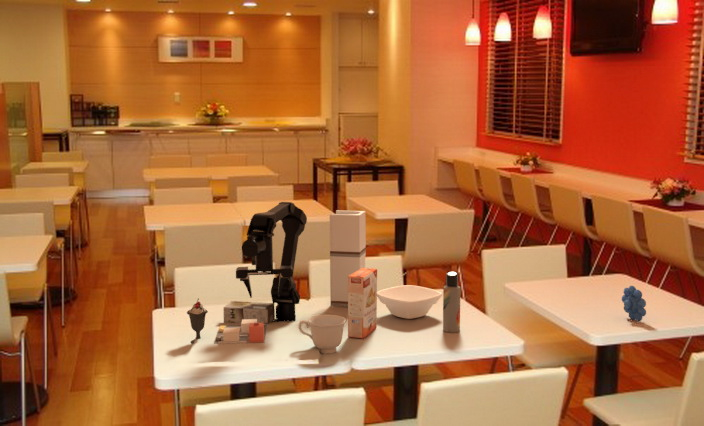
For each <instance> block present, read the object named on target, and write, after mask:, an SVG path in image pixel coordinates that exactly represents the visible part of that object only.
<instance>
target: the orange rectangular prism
mask: <svg viewBox="0 0 704 426" xmlns="http://www.w3.org/2000/svg"><path fill="white" fill-rule="evenodd" d="M264 325H265V324H264V323H258V322H255V323H250V325H249V342H264V343H265V340H264Z"/></svg>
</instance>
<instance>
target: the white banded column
mask: <svg viewBox="0 0 704 426" xmlns="http://www.w3.org/2000/svg"><path fill="white" fill-rule="evenodd" d="M366 213H367V212H366V210H342V209H340V210H339V209H337V210H335V214H334V213H329V271H330V272H329V276H330V277H329V278H330V279H329V281H330V282H329V283H330V285H329V286H330V287H329V289H330V290H329V291H330V307H341V306H345V307H344V308H346V307H347V308H348V276H349V275H351V274H353V273H354V272H356V271H358V270H359V269H361V268H366V255H367V253H366V252H367V250H366V249H367V248H366V247H367V244H366V243H367V242H366V241H367V239H366V237H367V235H366V234H367V230H366V229H367V228H366V226H367V225H366V223H367V222H366V221H367V219H366V217H367V216H366V215H367V214H366Z"/></svg>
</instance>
